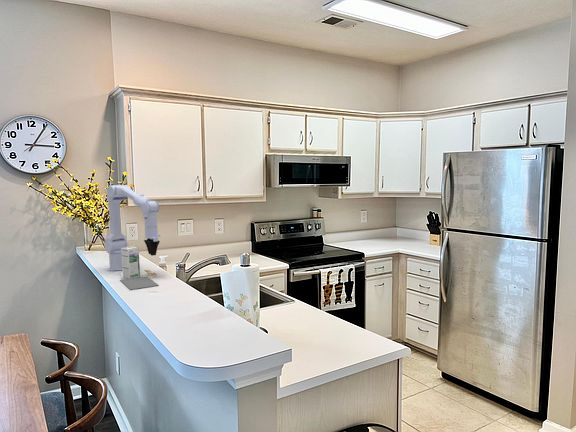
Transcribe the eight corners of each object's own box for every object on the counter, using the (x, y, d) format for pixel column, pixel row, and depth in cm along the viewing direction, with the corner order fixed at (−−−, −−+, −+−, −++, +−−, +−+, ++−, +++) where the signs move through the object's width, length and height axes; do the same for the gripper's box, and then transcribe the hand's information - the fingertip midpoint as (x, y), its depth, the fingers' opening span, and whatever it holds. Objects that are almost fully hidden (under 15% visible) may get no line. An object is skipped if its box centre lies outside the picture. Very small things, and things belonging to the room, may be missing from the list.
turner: (142, 271, 212) (142, 269, 212) (149, 270, 214) (149, 268, 214) (149, 275, 201) (149, 274, 201) (156, 274, 203) (156, 273, 203)
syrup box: (129, 279, 194) (128, 248, 193) (122, 277, 198) (121, 247, 196) (140, 276, 199) (139, 246, 197) (133, 275, 202) (131, 245, 201)
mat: (120, 280, 192) (120, 279, 192) (146, 277, 198) (146, 276, 198) (130, 290, 175) (130, 289, 175) (158, 285, 182) (158, 285, 181)
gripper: (164, 227, 194) (165, 256, 195) (155, 224, 206) (156, 251, 207) (148, 228, 190) (150, 257, 191) (140, 225, 202) (141, 253, 203)
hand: (152, 254), depth 199 cm, fingers open, 3 cm apart
